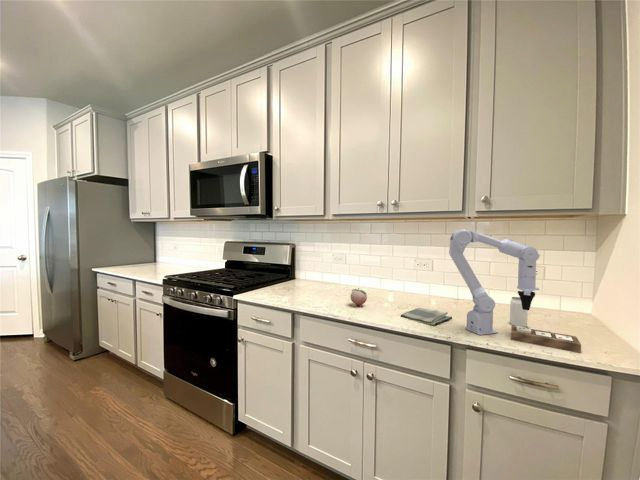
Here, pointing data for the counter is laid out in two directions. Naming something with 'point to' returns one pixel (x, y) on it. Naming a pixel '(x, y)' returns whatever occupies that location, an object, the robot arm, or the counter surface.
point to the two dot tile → (563, 337)
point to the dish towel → (427, 316)
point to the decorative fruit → (358, 297)
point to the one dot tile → (543, 334)
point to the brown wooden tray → (546, 340)
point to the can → (517, 313)
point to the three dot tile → (523, 329)
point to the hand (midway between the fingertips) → (525, 309)
